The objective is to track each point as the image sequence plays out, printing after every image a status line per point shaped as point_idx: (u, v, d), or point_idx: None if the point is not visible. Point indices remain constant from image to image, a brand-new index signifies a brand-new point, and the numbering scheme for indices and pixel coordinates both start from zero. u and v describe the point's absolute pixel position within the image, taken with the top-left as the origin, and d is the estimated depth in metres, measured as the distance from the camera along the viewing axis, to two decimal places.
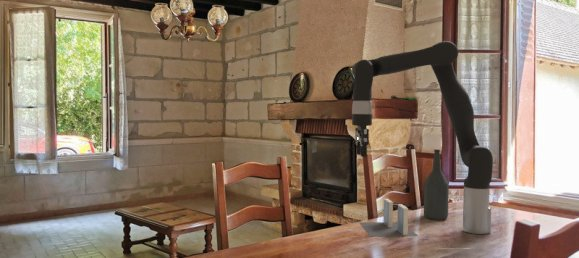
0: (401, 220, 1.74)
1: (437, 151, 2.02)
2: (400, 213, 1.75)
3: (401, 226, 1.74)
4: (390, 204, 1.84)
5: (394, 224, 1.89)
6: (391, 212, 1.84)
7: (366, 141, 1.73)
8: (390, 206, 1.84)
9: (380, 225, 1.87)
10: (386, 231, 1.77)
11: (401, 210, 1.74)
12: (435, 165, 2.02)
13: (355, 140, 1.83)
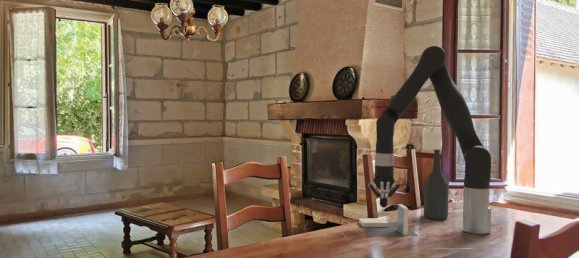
0: (401, 220, 1.74)
1: (437, 151, 2.02)
2: (400, 213, 1.75)
3: (401, 226, 1.74)
4: (365, 225, 1.83)
5: (394, 224, 1.89)
6: (373, 224, 1.84)
7: None
8: (367, 225, 1.83)
9: None
10: (386, 231, 1.77)
11: (401, 210, 1.74)
12: (435, 165, 2.02)
13: (377, 194, 1.86)
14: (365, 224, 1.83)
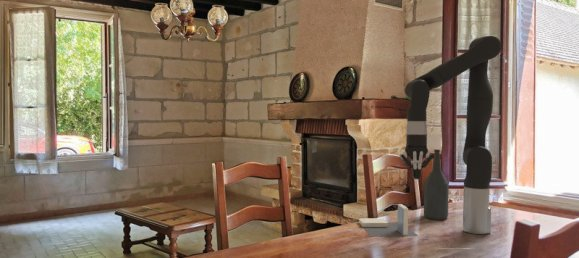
0: (401, 220, 1.74)
1: (437, 151, 2.02)
2: (400, 213, 1.75)
3: (401, 226, 1.74)
4: (365, 225, 1.83)
5: (394, 224, 1.89)
6: (373, 224, 1.84)
7: None
8: (367, 225, 1.83)
9: None
10: (386, 231, 1.77)
11: (401, 210, 1.74)
12: (435, 165, 2.02)
13: (410, 165, 1.74)
14: (365, 224, 1.83)
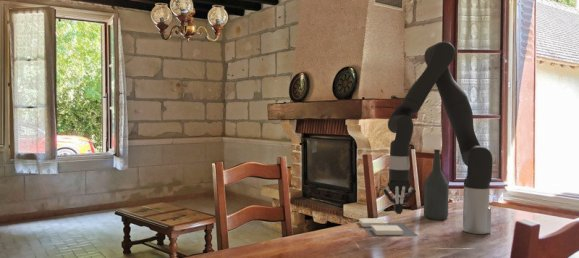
0: None
1: (437, 151, 2.02)
2: None
3: None
4: (365, 225, 1.83)
5: (394, 224, 1.89)
6: (373, 224, 1.84)
7: None
8: (367, 225, 1.83)
9: None
10: None
11: None
12: (435, 165, 2.02)
13: (392, 199, 1.74)
14: (365, 224, 1.83)
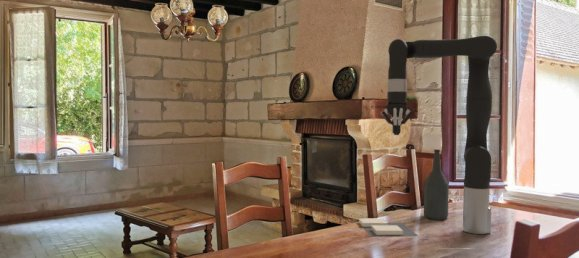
0: None
1: (437, 151, 2.02)
2: None
3: None
4: (365, 225, 1.83)
5: (394, 224, 1.89)
6: (373, 224, 1.84)
7: None
8: (367, 225, 1.83)
9: None
10: None
11: None
12: (435, 165, 2.02)
13: (390, 121, 1.82)
14: (365, 224, 1.83)
